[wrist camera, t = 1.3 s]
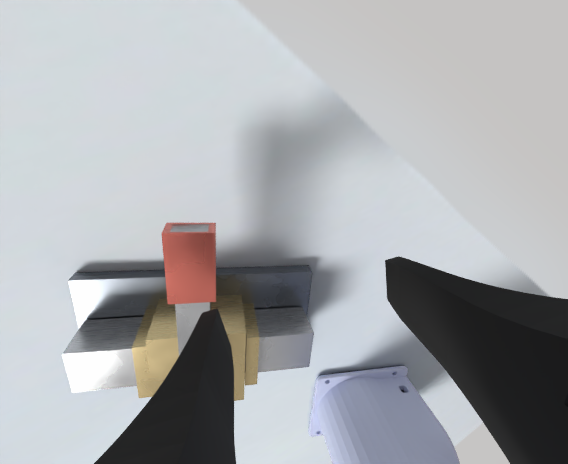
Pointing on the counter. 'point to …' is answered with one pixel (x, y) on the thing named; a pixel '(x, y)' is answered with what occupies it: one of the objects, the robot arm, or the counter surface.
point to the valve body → (163, 328)
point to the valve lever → (189, 272)
